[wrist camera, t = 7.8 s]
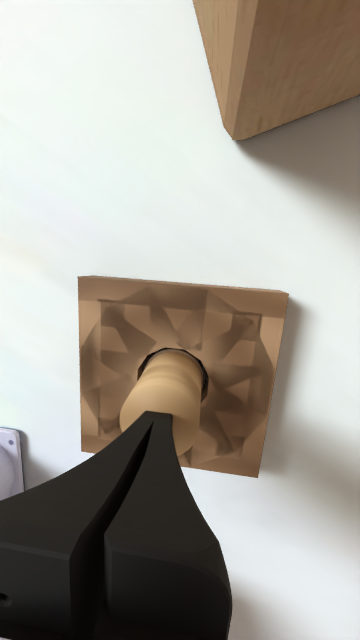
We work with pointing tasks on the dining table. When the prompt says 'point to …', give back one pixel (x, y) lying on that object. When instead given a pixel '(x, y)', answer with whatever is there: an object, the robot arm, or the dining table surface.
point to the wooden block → (279, 58)
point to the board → (198, 339)
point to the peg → (169, 394)
